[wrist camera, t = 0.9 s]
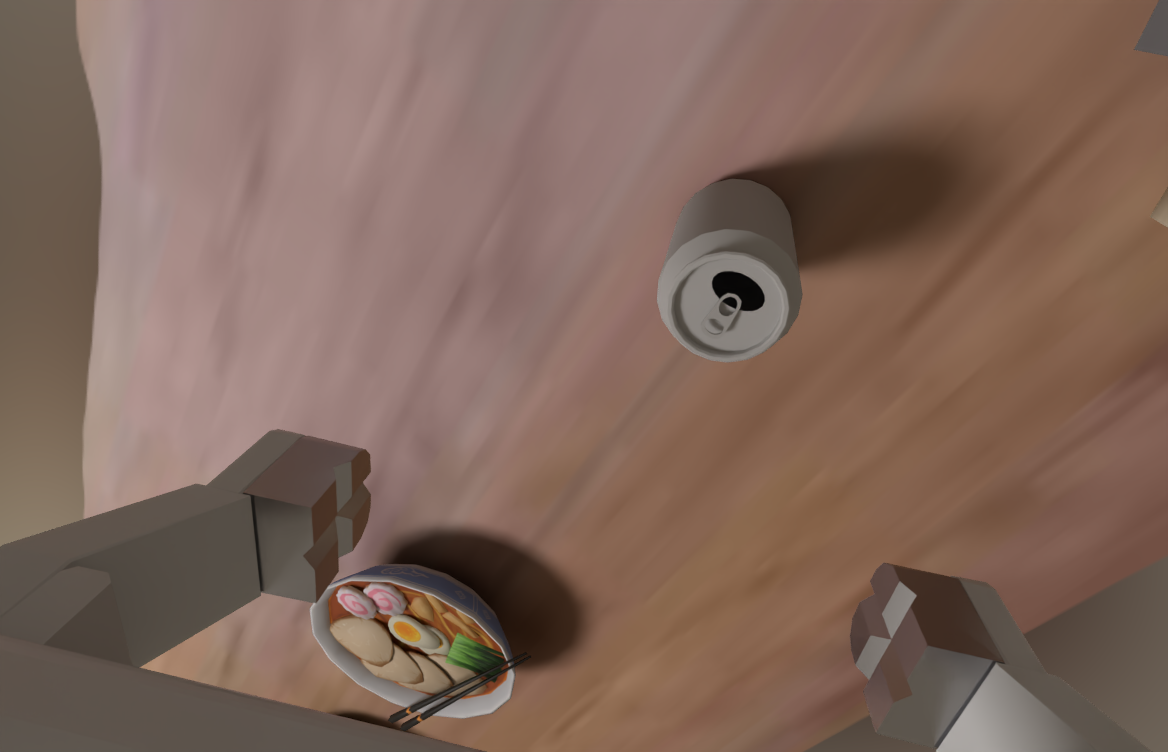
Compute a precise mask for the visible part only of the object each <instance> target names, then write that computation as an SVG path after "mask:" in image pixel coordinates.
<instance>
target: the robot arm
mask: <svg viewBox="0 0 1168 752" xmlns="http://www.w3.org/2000/svg"><path fill="white" fill-rule="evenodd" d="M370 472H371V465H370V454H369V453H368V452H367V451H366V449H362V448H357V447H353V446H349V445H345V444H341V443H337V442H333V441H328V440H324V439H320V438H316V437H312V436H305V435H302V434H298V433H294V432H289V431H285V430H280V429H277V430H272V431H269V432H268V433H267V434H265V435H264V436H263V437H262V438H261V439H260V440H258V441H257V442H256V443H255V444H254V445H253V446H251V447H250V448H249V449H248V450H247V451H246V452H245V453H243V454H242V455H241V456H240V457H239V458H238V459H236V460H235V461H234V462H233V463H232V464H231V465H229V466H228V467H227V468H226V469H225V470H224V471H223V472H221V473H220V474H219V475H218V476H217V477H216V478H214V479H213V480H212V481H211V482H210V483H209V484H207V485H206V486H205V485H200V484H194V485H191V486H188V487H184V488H181V489H178V490H175V491H172V492H169V493H165V494H162V495H159V496H156V497H153V498H150V499H146V500H143V501H140V502H137V503H134V504H131V505H128V506H124V507H121V508H118V509H115V510H112V511H109V512H105V513H102V514H99V515H96V516H93V517H90V518H86V519H83V520H80V521H77V522H74V523H71V524H67V525H64V526H61V527H58V528H55V529H52V530H49V531H45V532H42V533H39V534H36V535H33V536H30V537H27V538H23V539H20V540H17V541H14V542H11V543H8V544H4V545H2V546H1V547H0V752H486V751H482V750H478V749H474V748H470V747H465V746H461V745H457V744H453V743H449V742H445V741H441V740H437V739H432V738H428V737H424V736H420V735H416V734H412V733H408V732H403V731H399V730H395V729H391V728H387V727H383V726H379V725H374V724H370V723H366V722H362V721H358V720H354V719H350V718H345V717H341V716H337V715H333V714H329V713H325V712H321V711H316V710H312V709H308V708H304V707H300V706H296V705H292V704H287V703H283V702H279V701H275V700H271V699H267V698H263V697H258V696H254V695H250V694H246V693H242V692H238V691H234V690H229V689H225V688H221V687H217V686H213V685H209V684H205V683H200V682H196V681H192V680H188V679H184V678H180V677H176V676H171V675H167V674H163V673H159V672H155V671H151V670H147V669H142V668H139V667H141V666H143V665H144V664H146V663H148V662H150V661H151V660H153V659H155V658H156V657H158V656H160V655H161V654H163V653H165V652H166V651H168V650H170V649H171V648H173V647H175V646H177V645H178V644H180V643H182V642H183V641H185V640H187V639H188V638H190V637H192V636H193V635H195V634H197V633H198V632H200V631H202V630H204V629H205V628H207V627H209V626H210V625H212V624H214V623H215V622H217V621H219V620H220V619H222V618H224V617H225V616H227V615H229V614H231V613H232V612H234V611H236V610H237V609H239V608H241V607H242V606H244V605H246V604H247V603H249V602H251V601H252V600H254V599H256V598H258V597H259V596H261V592H262V593H267V594H272V595H277V596H282V597H287V598H292V599H297V600H302V601H307V602H311V603H317V602H318V600H319V599H320V598H321V596H322V595H323V593H324V592H325V590H326V589H327V587H328V586H329V585H330V583H331V582H332V580H333V579H334V577H335V576H336V574H337V573H338V572H339V564H338V558H339V557H341V556H343V555H345V554H347V553H350V552H352V551H353V550H354V548H355V547H356V545H357V543H358V542H359V540H360V539H361V537H362V534H363V532H364V529H365V527H366V524H367V522H368V518H369V512H370V505H371V494H370V493H369V491H368V490H367V488H366V487H365V485H364V484H363V481H364V480H365V479H366V477H367V476H368V475H369V473H370ZM870 582H871V585H872V588H873V590H874V593H875V594H874V595H872V596H870V597H868V598H867V599H865V600H863V601H861V602H860V603H859V605H858V607H857V609H856V612H855V614H854V616H853V618H852V626H851V633H850V641H851V651H852V655H853V658H854V662H855V665H856V666H857V667H858V668H859V669H860V671H861V672H862V673H863V674H864V675H865V676H866V677H867V678H868V679H869V681H868V683H867V685H866V687H865V689H864V691H863V693H864V696H865V699H866V703H867V706H868V709H869V713H870V716H871V719H872V722H873V726H874V729H875V732H876V733H877V734H880V735H884V736H889V737H892V738H896V739H900V740H903V741H907V742H911V743H915V744H919V745H923V746H927V747H930V748H934V749H937V750H936V752H1152V751H1151V750H1149V749H1148V748H1147V747H1146V746H1145V745H1143V744H1142V743H1141V742H1140V741H1138V740H1137V739H1136V738H1135V737H1133V736H1132V735H1131V734H1129V733H1128V732H1127V731H1126V730H1125V729H1123V728H1122V727H1121V726H1119V725H1118V724H1117V723H1116V722H1115V721H1113V720H1112V719H1111V718H1110V717H1108V716H1107V715H1106V714H1105V713H1103V712H1102V711H1101V710H1100V709H1098V708H1097V707H1096V706H1095V705H1093V704H1092V703H1091V702H1090V701H1088V700H1087V699H1086V698H1085V697H1083V696H1082V695H1081V694H1079V693H1078V692H1077V691H1076V690H1075V689H1073V688H1072V687H1071V686H1070V685H1068V684H1067V683H1066V682H1065V681H1063V680H1062V679H1061V678H1060V677H1058V676H1054V675H1050V674H1047V673H1046V671H1045V670H1044V668H1043V667H1042V665H1041V663H1040V662H1039V660H1038V658H1037V657H1036V655H1035V653H1034V652H1033V650H1032V649H1031V647H1030V645H1029V644H1028V642H1027V640H1026V639H1025V637H1024V636H1023V634H1022V632H1021V631H1020V629H1019V627H1018V626H1017V624H1016V623H1015V621H1014V619H1013V618H1012V616H1011V614H1010V613H1009V611H1008V610H1007V608H1006V606H1005V605H1004V603H1003V601H1002V600H1001V598H1000V596H999V595H998V593H997V592H996V590H995V589H994V588H993V587H992V586H990V585H989V584H988V583H986V582H981V581H976V580H971V579H966V578H961V577H955V576H950V577H949V576H945V575H940V574H936V573H931V572H926V571H921V570H917V569H912V568H907V567H903V566H898V565H893V564H889V563H883V564H882V565H881V566H879V567H878V568H877V569H876V571H875V573H874V575H873V577H872V579H871V581H870Z"/></svg>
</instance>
